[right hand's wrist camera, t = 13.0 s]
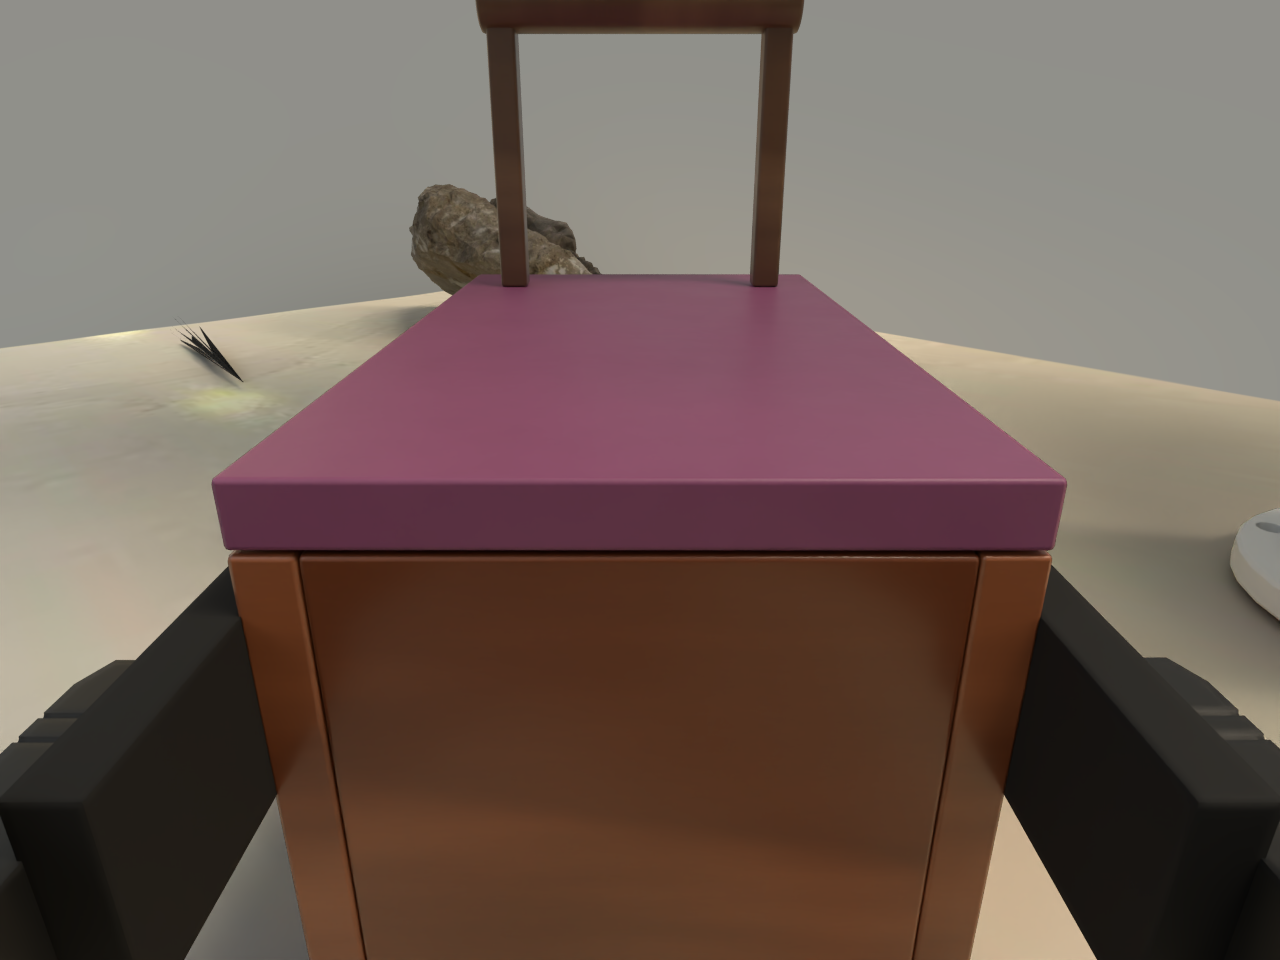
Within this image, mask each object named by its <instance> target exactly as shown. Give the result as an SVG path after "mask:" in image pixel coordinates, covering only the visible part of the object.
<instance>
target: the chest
mask: <svg viewBox="0 0 1280 960" xmlns="http://www.w3.org/2000/svg"><path fill="white" fill-rule="evenodd" d="M1051 564H1052V558H1051V555H1050V554H1049V553H1048V552H1047V551H1046V550H234V551H233V552H232V553H231V554H230V555H229V558H228V566H229V571H230V575H231V580H232V585H233V590H234V595H235V600H236V605H237V609H238V614H239V617H241V621H242V626H243V631H244V636H245V640H246V645H247V650H248V655H249V660H250V665H251V670H252V675H253V679H254V684H255V689H256V694H257V699H258V704H259V709H260V714H261V719H262V723H263V728H264V733H265V738H266V743H267V748H268V753H269V758H270V762H271V767H272V772H273V777H274V782H275V787H276V792H277V795H276V799H277V804H278V809H279V814H280V819H281V823H282V828H283V833H284V838H285V843H286V848H287V853H288V857H289V862H290V867H291V872H292V877H293V882H294V887H295V891H296V896H297V901H298V906H299V911H300V916H301V921H302V926H303V930H304V935H305V940H306V945H307V950H308V955H309V960H970V957H971V952H972V947H973V942H974V937H975V933H976V928H977V923H978V918H979V913H980V908H981V903H982V899H983V894H984V889H985V884H986V879H987V874H988V869H989V865H990V860H991V855H992V850H993V845H994V840H995V835H996V831H997V826H998V821H999V816H1000V811H1001V806H1002V802H1003V797H1004V791H1005V787H1006V782H1007V777H1008V772H1009V767H1010V762H1011V757H1012V753H1013V748H1014V743H1015V738H1016V733H1017V728H1018V723H1019V719H1020V714H1021V709H1022V704H1023V699H1024V694H1025V689H1026V684H1027V680H1028V675H1029V670H1030V665H1031V660H1032V655H1033V650H1034V646H1035V641H1036V636H1037V631H1038V626H1039V621H1040V617H1041V612H1042V607H1043V603H1044V598H1045V593H1046V588H1047V583H1048V578H1049V573H1050V569H1051Z"/></svg>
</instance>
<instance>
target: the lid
mask: <svg viewBox="0 0 1280 960" xmlns="http://www.w3.org/2000/svg"><path fill="white" fill-rule="evenodd" d="M803 6H804V0H476V9H477V16H478V21H479V24H480V27H481V30H482V32H483V33H485V34H487V50H488V67H489V83H490V100H491V117H492V133H493V150H494V167H495V183H496V200H497V216H498V233H499V249H500V266H501V274H481V275H479V276H477V277H476V278H475V279H473V280H472V281H471V282H469V283H468V284H467V285H466V286H464V287H463V288H462V289H460V290H459V291H458V292H456V293H455V294H454V295H452V296H451V297H450V298H449V299H447V300H446V301H445V302H443V303H442V304H441V305H439V306H438V307H437V308H435V309H434V310H433V311H432V312H430V313H429V314H428V315H426V316H425V317H424V318H422V319H421V320H420V321H418V322H417V323H416V324H414V325H413V326H412V327H411V328H409V329H408V330H407V331H405V332H404V333H403V334H401V335H400V336H399V337H397V338H396V339H395V340H394V341H392V342H391V343H390V344H388V345H387V346H386V347H384V348H383V349H382V350H380V351H379V352H378V353H377V354H375V355H374V356H373V357H371V358H370V359H369V360H367V361H366V362H365V363H363V364H362V365H361V366H360V367H358V368H357V369H356V370H354V371H353V372H352V373H350V374H349V375H348V376H346V377H345V378H344V379H343V380H341V381H340V382H339V383H337V384H336V385H335V386H333V387H332V388H331V389H329V390H328V391H327V392H326V393H324V394H323V395H322V396H320V397H319V398H318V399H316V400H315V401H314V402H312V403H311V404H310V405H308V406H307V407H306V408H305V409H303V410H302V411H301V412H299V413H298V414H297V415H295V416H294V417H293V418H291V419H290V420H289V421H288V422H286V423H285V424H284V425H282V426H281V427H280V428H278V429H277V430H276V431H274V432H273V433H272V434H271V435H269V436H268V437H267V438H265V439H264V440H263V441H261V442H260V443H259V444H257V445H256V446H255V447H254V448H252V449H251V450H250V451H248V452H247V453H246V454H244V455H243V456H242V457H240V458H239V459H238V460H237V461H235V462H234V463H233V464H231V465H230V466H229V467H227V468H226V469H225V470H223V471H222V472H221V473H219V474H218V475H217V476H216V477H214V478H213V480H212V489H213V494H214V499H215V504H216V509H217V514H218V518H219V523H220V528H221V533H222V538H223V543H224V546H225V548H226V549H228V550H1052V549H1053V548H1054V546H1055V541H1056V537H1057V532H1058V527H1059V522H1060V517H1061V512H1062V507H1063V502H1064V498H1065V493H1066V488H1067V481H1066V479H1065V478H1064V477H1063V476H1061V475H1060V474H1059V473H1058V472H1056V471H1055V470H1054V469H1052V468H1051V467H1050V466H1048V465H1047V464H1046V463H1045V462H1043V461H1042V460H1041V459H1039V458H1038V457H1037V456H1035V455H1034V454H1033V453H1031V452H1030V451H1029V450H1028V449H1026V448H1025V447H1024V446H1022V445H1021V444H1020V443H1018V442H1017V441H1016V440H1015V439H1013V438H1012V437H1011V436H1009V435H1008V434H1007V433H1005V432H1004V431H1003V430H1002V429H1000V428H999V427H998V426H996V425H995V424H994V423H992V422H991V421H990V420H989V419H987V418H986V417H985V416H983V415H982V414H981V413H979V412H978V411H977V410H975V409H974V408H973V407H972V406H970V405H969V404H968V403H966V402H965V401H964V400H962V399H961V398H960V397H959V396H957V395H956V394H955V393H953V392H952V391H951V390H949V389H948V388H947V387H946V386H944V385H943V384H942V383H940V382H939V381H938V380H936V379H935V378H934V377H932V376H931V375H930V374H929V373H927V372H926V371H925V370H923V369H922V368H921V367H919V366H918V365H917V364H916V363H914V362H913V361H912V360H910V359H909V358H908V357H906V356H905V355H904V354H903V353H901V352H900V351H899V350H897V349H896V348H895V347H893V346H892V345H891V344H889V343H888V342H887V341H886V340H884V339H883V338H882V337H880V336H879V335H878V334H876V333H875V332H874V331H873V330H871V329H870V328H869V327H867V326H866V325H865V324H863V323H862V322H861V321H859V320H858V319H857V318H856V317H854V316H853V315H852V314H850V313H849V312H848V311H846V310H845V309H844V308H843V307H841V306H840V305H839V304H837V303H836V302H835V301H833V300H832V299H831V298H830V297H828V296H827V295H826V294H824V293H823V292H822V291H820V290H819V289H818V288H817V287H815V286H814V285H813V284H811V283H810V282H809V281H807V280H806V279H805V278H803V277H802V276H801V275H779V259H780V242H781V226H782V209H783V192H784V176H785V160H786V143H787V127H788V110H789V94H790V77H791V61H792V44H793V34H794V33H797V31H798V29H799V27H800V23H801V19H802V14H803ZM518 34H762V39H761V60H760V81H759V101H758V122H757V143H756V163H755V184H754V204H753V226H752V246H751V267H750V275H695V274H691V275H687V274H685V275H684V274H681V275H680V274H679V275H676V274H674V275H673V274H672V275H667V274H665V275H664V274H662V275H661V274H660V275H659V274H655V275H653V274H650V275H649V274H643V275H642V274H641V275H640V274H639V275H638V274H637V275H636V274H634V275H633V274H632V275H631V274H624V275H623V274H622V275H621V274H613V275H611V274H610V275H609V274H606V275H605V274H529V253H528V233H527V212H526V191H525V170H524V150H523V128H522V107H521V87H520V66H519V45H518Z"/></svg>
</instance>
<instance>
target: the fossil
mask: <svg viewBox="0 0 1280 960" xmlns="http://www.w3.org/2000/svg"><path fill="white" fill-rule="evenodd" d="M418 199H419V203H418V204H419V205H418V207H417V212H416V214H415V217H414V220H413V226H411V227H410V228H409V229H410V232H411V233H412V235H413V238H412V252H411V256H412V257H413V260H414V261H415V262H416V264H417V266H418V268H419V269H421V270H422V271H423V272H424V273H425V274H426V275H427V276H428V277H429V278H430V279H431V280H432V281H433V282H434V283H436V284H437V285H438V286H439V287H440V288H441V289H442V290H444V291H445V292H447V293H449V294H451V295H454V294H455V293H456V292H458V291H459V290H460V289H462V288H463V287H464V286H466V285H467V284H468V283H469V282H471V281H472V280H473V279H475V278H476V277H477V276H479V275H481V274H501V266H500V249H499V233H498V216H497V200H496V198H495V199H492V200H491V201H490V202H488V201H487V199H486V198H481V197H479V196H478V195H477V194H474V193H471V192H468V191H467V190H465V189H461V188H457V187H455V186H453V185H450V184H447V185H434V186H432V187H427V188H426V189H425V190H424V192H422V193H421V195H420V196H419V197H418ZM526 212H527V233H528V253H529V274H600V272H599V270H598V268H596V267H593V265H592V263H591V262H588V261H585V258H584V257H579V256H578V255H577V254H576V242H575V237H574V235H573V232H572V230H571V229H570V228H569V226H568V224H567V223H565V222H561V221H554V220H551V219H548V218H545V217H542V216H540V215H538V214H536V213H535V212H534V211H532V210H531V209H530V208H528V207H526Z"/></svg>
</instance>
